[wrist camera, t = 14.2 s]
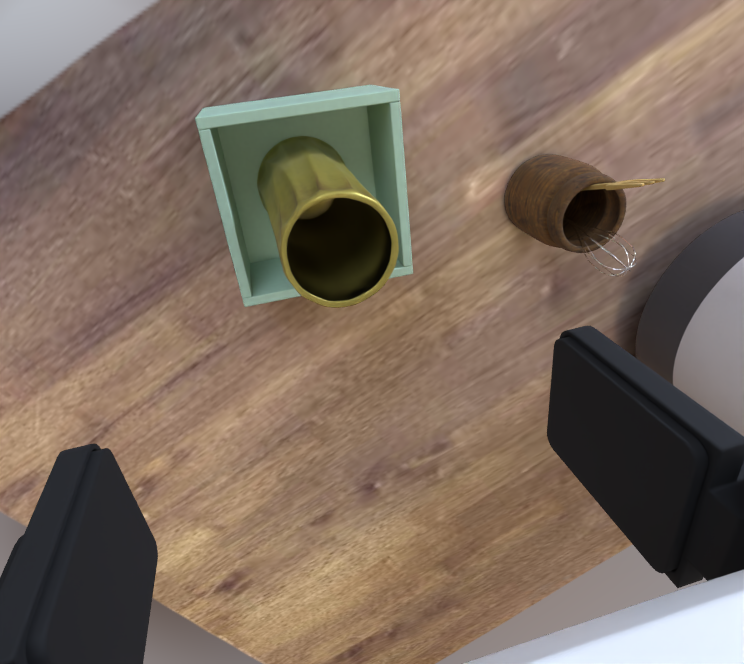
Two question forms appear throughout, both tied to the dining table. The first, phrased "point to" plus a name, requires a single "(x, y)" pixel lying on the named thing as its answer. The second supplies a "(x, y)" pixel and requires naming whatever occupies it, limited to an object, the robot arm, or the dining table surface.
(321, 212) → the vase
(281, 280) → the bin
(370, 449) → the dining table surface
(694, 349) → the planter
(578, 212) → the utensil holder
